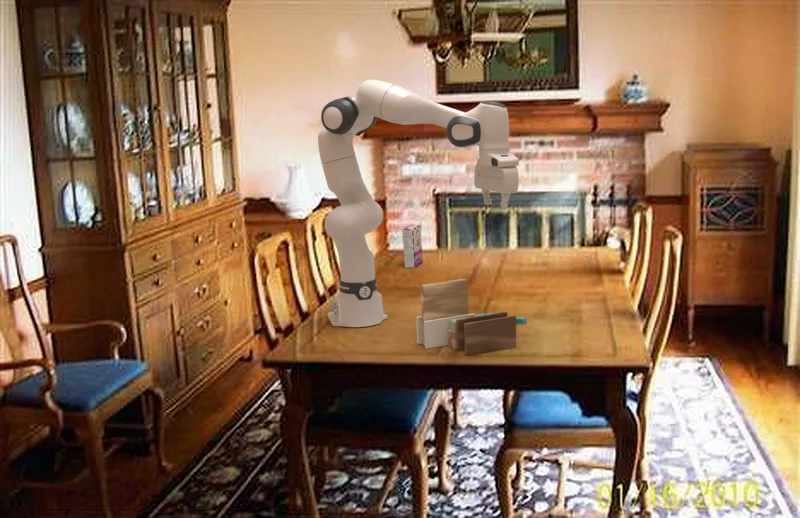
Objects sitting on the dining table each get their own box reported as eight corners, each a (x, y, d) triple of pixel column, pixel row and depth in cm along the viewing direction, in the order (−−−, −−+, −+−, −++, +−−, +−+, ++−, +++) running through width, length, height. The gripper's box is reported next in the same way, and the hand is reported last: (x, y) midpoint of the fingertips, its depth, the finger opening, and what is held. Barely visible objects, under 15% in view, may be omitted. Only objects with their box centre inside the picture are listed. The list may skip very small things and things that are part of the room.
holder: (417, 343, 271) (416, 317, 269) (465, 335, 277) (464, 309, 275) (426, 348, 265) (425, 321, 263) (475, 340, 271) (474, 314, 269)
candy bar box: (411, 262, 388) (409, 224, 385) (422, 262, 387) (421, 224, 384) (403, 268, 378) (401, 228, 375) (415, 268, 377) (413, 228, 373)
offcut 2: (450, 329, 266) (449, 319, 265) (466, 327, 267) (466, 317, 266) (454, 332, 262) (453, 322, 261) (471, 330, 263) (470, 320, 263)
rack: (457, 350, 262) (456, 319, 260) (506, 341, 268) (505, 311, 266) (466, 355, 257) (465, 324, 255) (516, 346, 263) (515, 316, 261)
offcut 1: (448, 346, 266) (448, 330, 265) (467, 343, 268) (466, 327, 267) (454, 350, 263) (454, 333, 262) (473, 346, 265) (472, 330, 264)
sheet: (423, 344, 269) (420, 284, 266) (465, 337, 275) (463, 278, 271) (426, 346, 267) (423, 286, 264) (469, 339, 272) (467, 280, 269)
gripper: (468, 157, 272) (469, 203, 275) (502, 161, 253) (503, 211, 256) (487, 155, 274) (488, 201, 277) (522, 159, 256) (523, 209, 258)
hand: (495, 206), depth 266 cm, fingers open, 8 cm apart
